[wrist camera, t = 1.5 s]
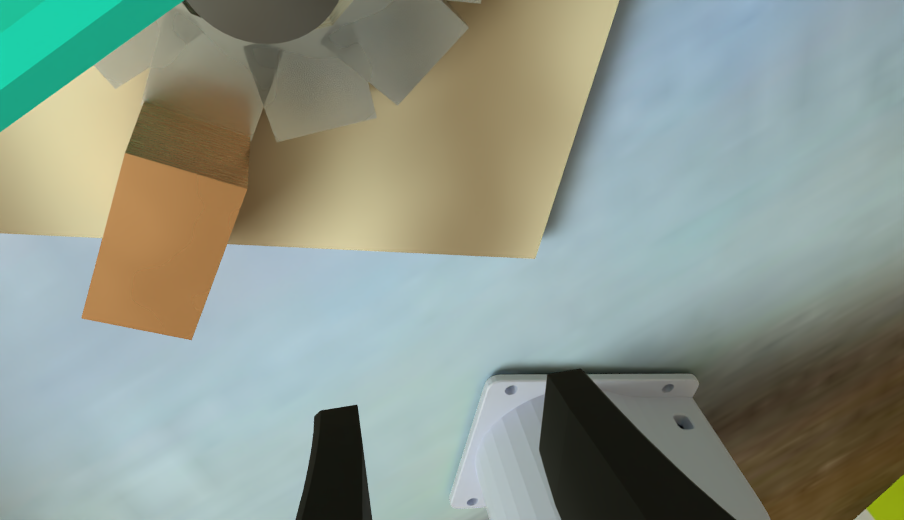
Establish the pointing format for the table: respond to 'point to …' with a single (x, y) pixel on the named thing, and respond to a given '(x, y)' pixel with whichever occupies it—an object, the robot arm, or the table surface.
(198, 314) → the flange
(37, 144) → the board
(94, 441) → the table surface
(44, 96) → the table top decor
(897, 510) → the puzzle toy
